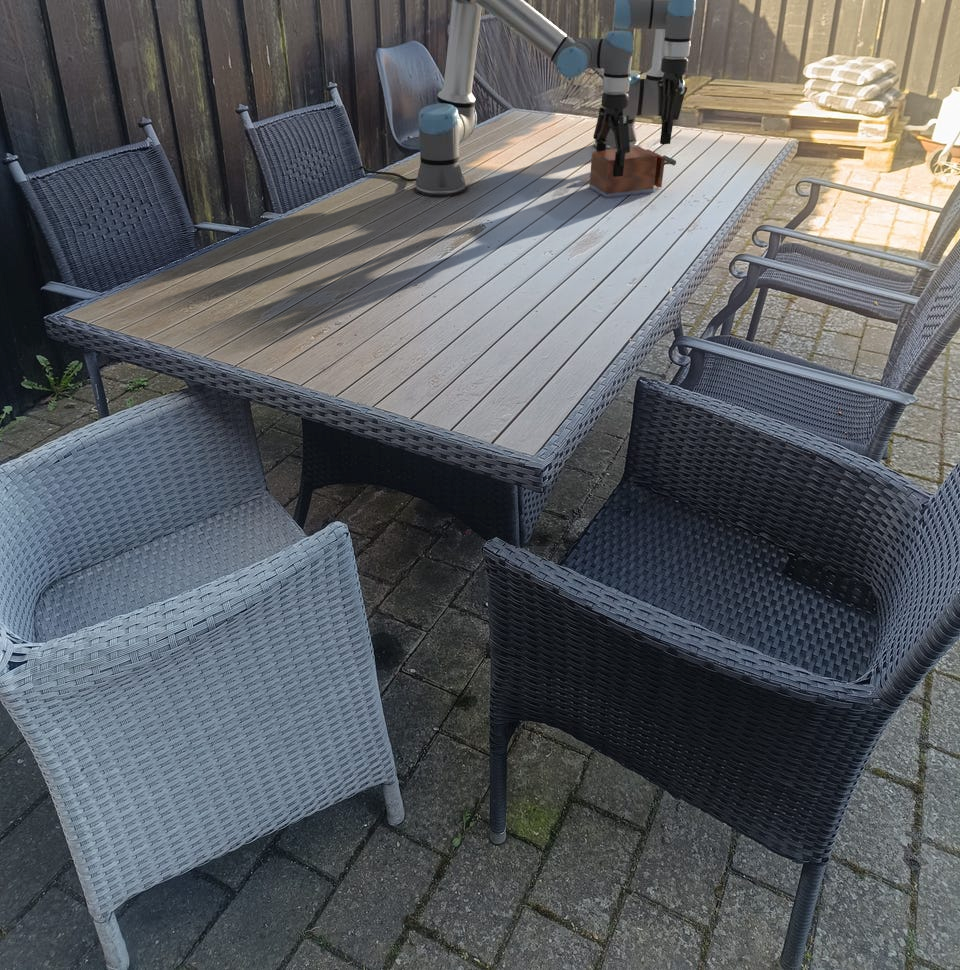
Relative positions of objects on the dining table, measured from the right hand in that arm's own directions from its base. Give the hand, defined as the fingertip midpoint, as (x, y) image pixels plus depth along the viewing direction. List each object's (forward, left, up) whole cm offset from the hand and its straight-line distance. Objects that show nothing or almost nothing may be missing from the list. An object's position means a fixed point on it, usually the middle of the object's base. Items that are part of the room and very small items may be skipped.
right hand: (665, 143), depth 255 cm
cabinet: (+6, -12, -12) cm, 18 cm away
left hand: (+8, -16, -6) cm, 19 cm away
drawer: (+3, -6, -11) cm, 14 cm away
